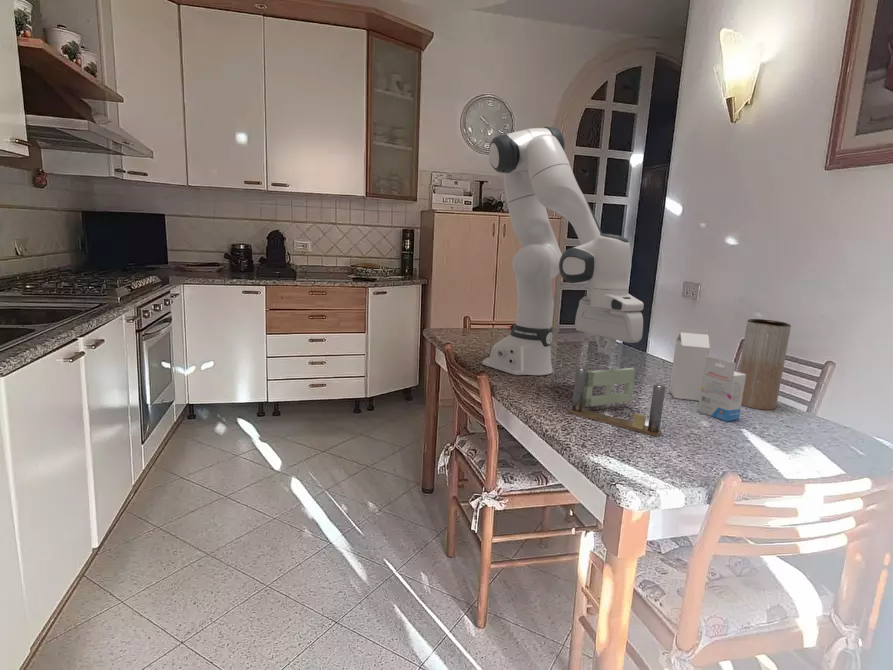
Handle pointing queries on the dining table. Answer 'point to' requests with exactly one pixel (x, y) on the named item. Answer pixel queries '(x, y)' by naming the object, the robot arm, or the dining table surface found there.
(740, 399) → the ink box
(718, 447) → the dining table surface
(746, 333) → the planter
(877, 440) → the dining table surface
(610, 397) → the gate
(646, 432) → the drawknife
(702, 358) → the milk carton
